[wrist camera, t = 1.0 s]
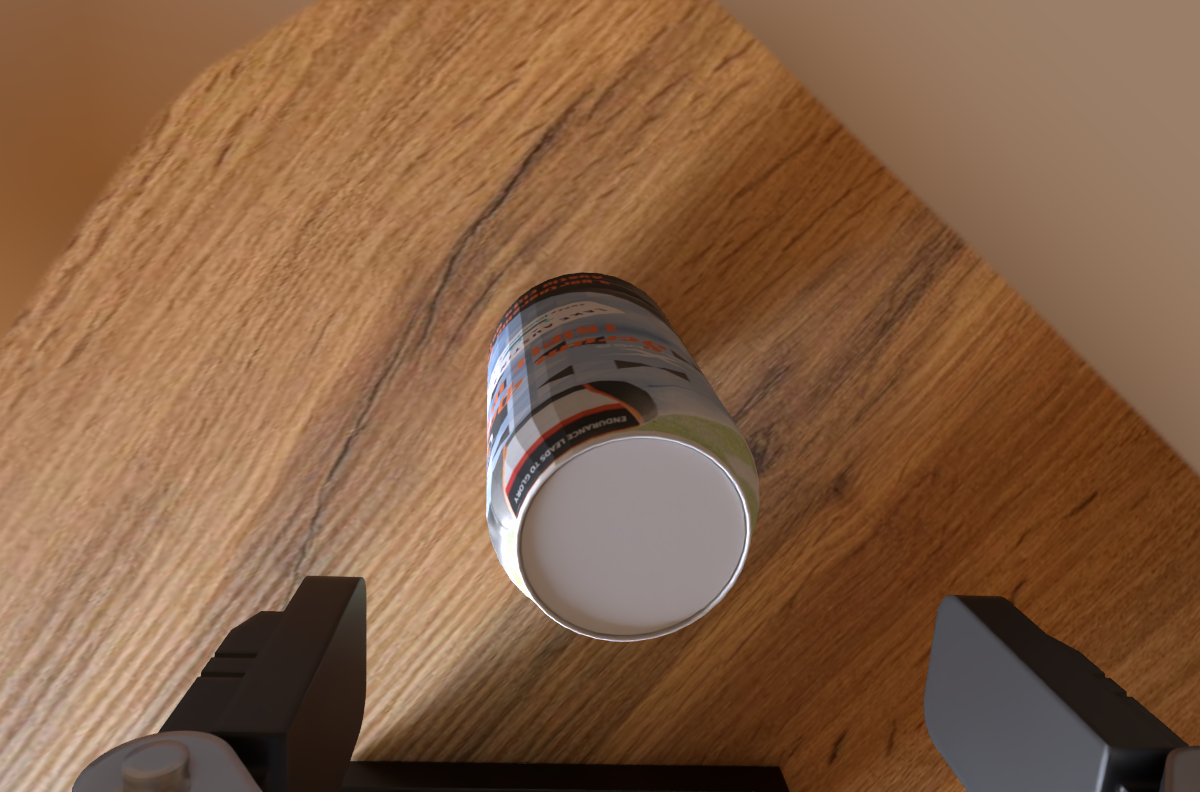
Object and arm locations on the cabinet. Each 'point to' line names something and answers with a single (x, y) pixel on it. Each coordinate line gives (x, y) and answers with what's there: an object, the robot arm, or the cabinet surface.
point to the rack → (556, 778)
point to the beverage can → (612, 463)
